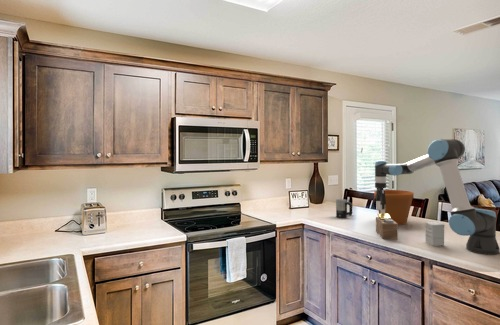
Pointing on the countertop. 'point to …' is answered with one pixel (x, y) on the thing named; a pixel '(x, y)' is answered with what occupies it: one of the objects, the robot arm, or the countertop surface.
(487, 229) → the robot arm
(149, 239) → the countertop surface
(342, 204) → the milk frother
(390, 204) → the flowerpot
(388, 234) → the socket block
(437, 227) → the supplement box
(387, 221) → the grey block
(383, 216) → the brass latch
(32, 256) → the countertop surface
